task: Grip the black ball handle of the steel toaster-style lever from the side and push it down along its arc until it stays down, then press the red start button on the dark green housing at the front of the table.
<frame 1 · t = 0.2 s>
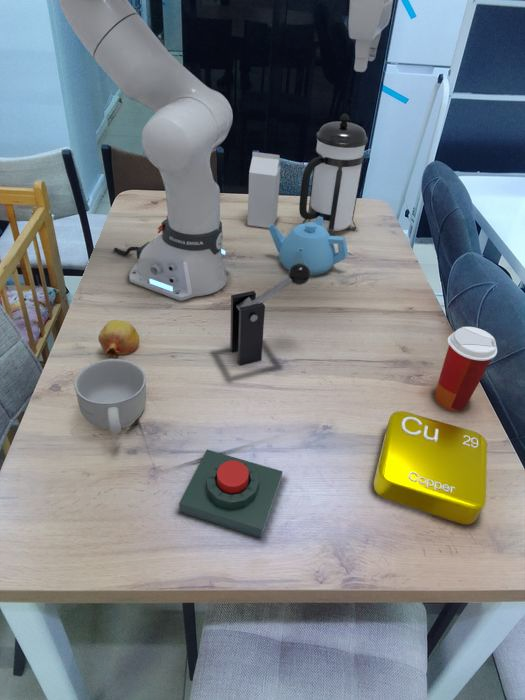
hand: (364, 65, 81), 47 cm above the table, tool pointing down, fingers open, 8 cm apart
fruit: (121, 352, 97), on the table
button: (232, 476, 70), point 4 cm above the table, slide at 0.1 cm
teapot: (305, 264, 126), on the table
bracket: (245, 360, 96), on the table
coffee press: (326, 229, 141), on the table
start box: (232, 495, 73), on the table
teacup: (115, 421, 83), on the table
paper cup: (449, 400, 91), on the table
lever: (274, 290, 89), point 15 cm above the table, hinge at 28.0°
milk carton: (262, 222, 143), on the table
element tile: (427, 473, 78), on the table
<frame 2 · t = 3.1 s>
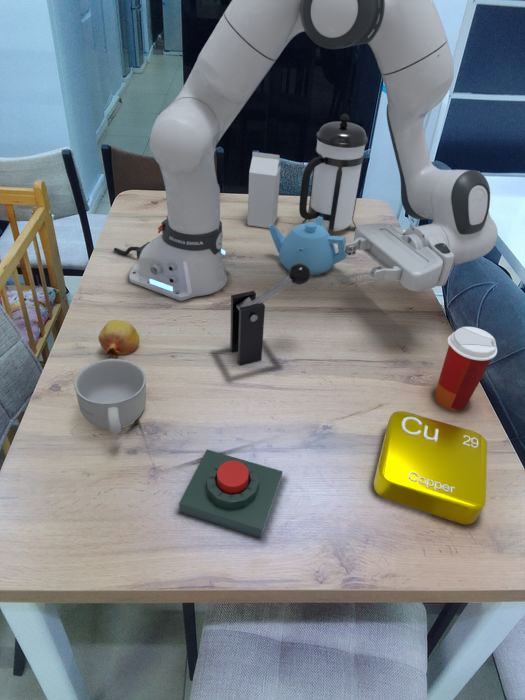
hand: (358, 261, 92), 18 cm above the table, tool horizontal, fingers open, 8 cm apart
nothing on the table moved.
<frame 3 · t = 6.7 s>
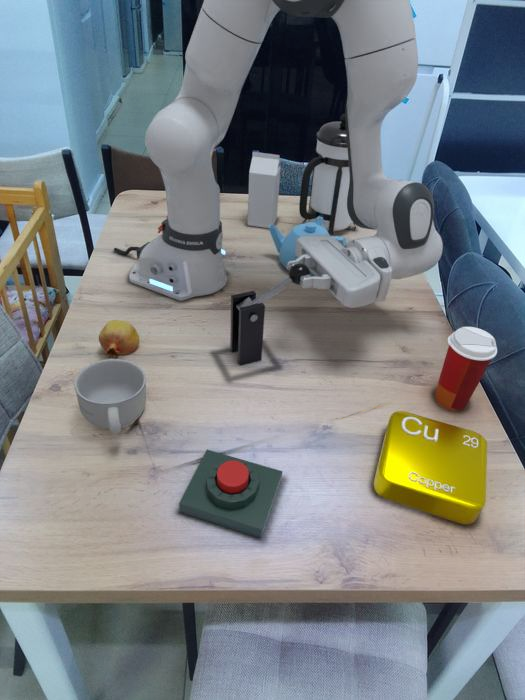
hand: (295, 275, 88), 17 cm above the table, tool horizontal, fingers closed on lever, 4 cm apart
lever: (274, 290, 89), point 15 cm above the table, hinge at 28.0°, touching gripper
everything else where it was.
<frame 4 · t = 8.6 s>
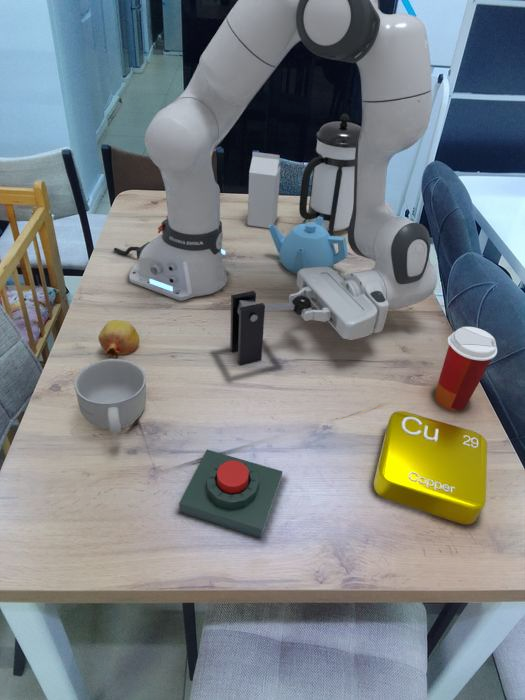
hand: (296, 307, 93), 10 cm above the table, tool horizontal, fingers closed on lever, 4 cm apart
lever: (276, 307, 91), point 11 cm above the table, hinge at -9.3°, touching gripper
everything else where it was.
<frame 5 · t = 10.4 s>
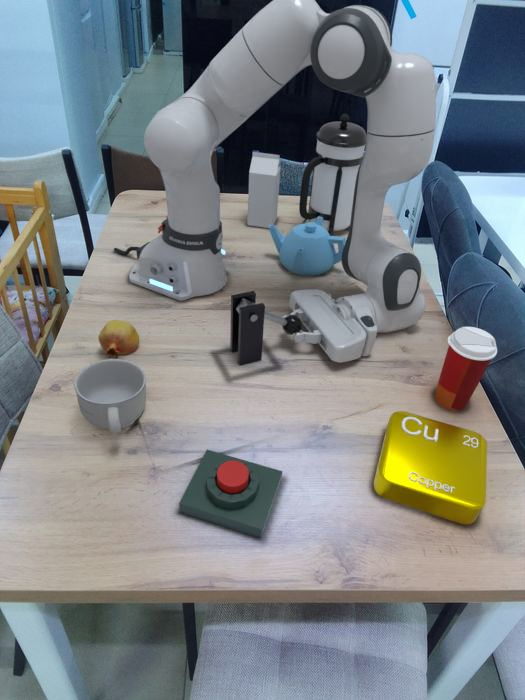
hand: (288, 329, 96), 5 cm above the table, tool horizontal, fingers closed on lever, 4 cm apart
lever: (271, 317, 92), point 9 cm above the table, hinge at -32.1°, touching gripper
everything else where it was.
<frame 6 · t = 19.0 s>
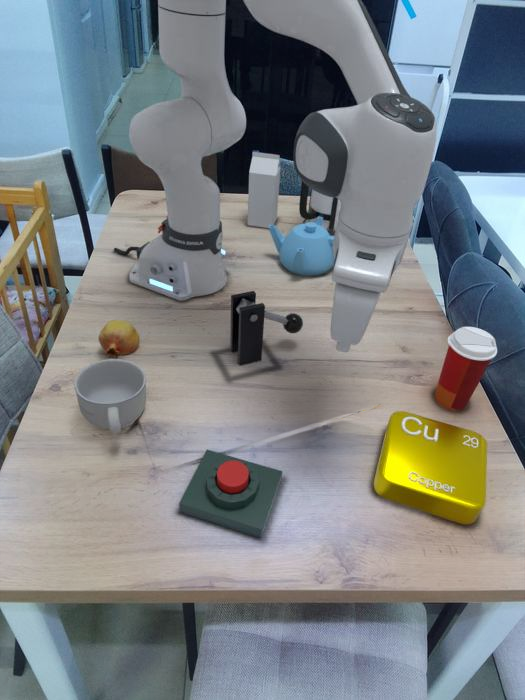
hand: (347, 328, 72), 20 cm above the table, tool pointing down, fingers open, 8 cm apart
lever: (272, 316, 92), point 9 cm above the table, hinge at -30.4°
everything else where it was.
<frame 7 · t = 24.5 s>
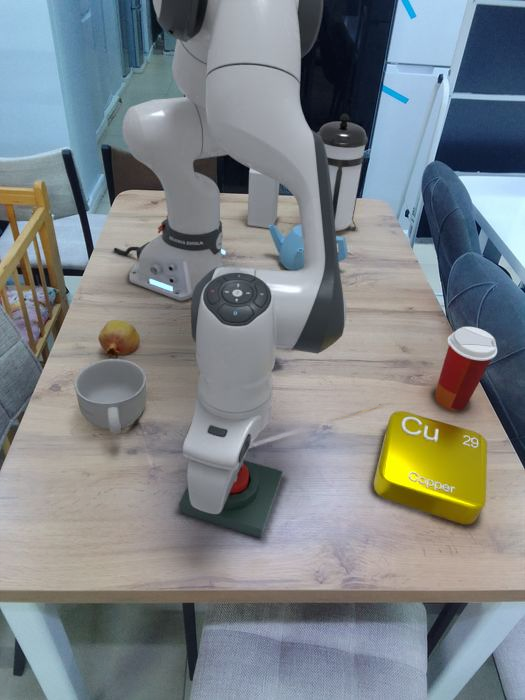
hand: (233, 473, 70), 5 cm above the table, tool pointing down, fingers closed, pressing on button
button: (232, 476, 70), point 4 cm above the table, slide at 0.1 cm, touching gripper
everything else where it was.
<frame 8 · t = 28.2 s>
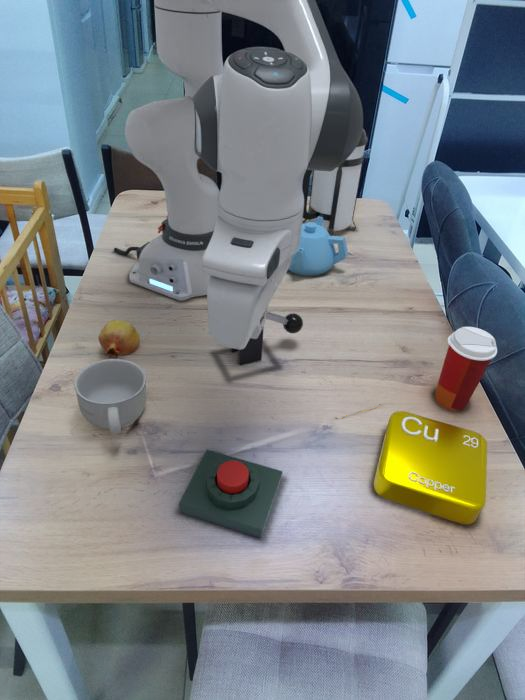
hand: (254, 331, 62), 25 cm above the table, tool pointing down, fingers closed
button: (232, 476, 70), point 4 cm above the table, slide at 0.1 cm
everything else where it was.
at the end: lever at -30° (first picture: +28°); button pushed in 1.1 cm at the most during the clip, back to where it started at the end; button slide at 0.1 cm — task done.
